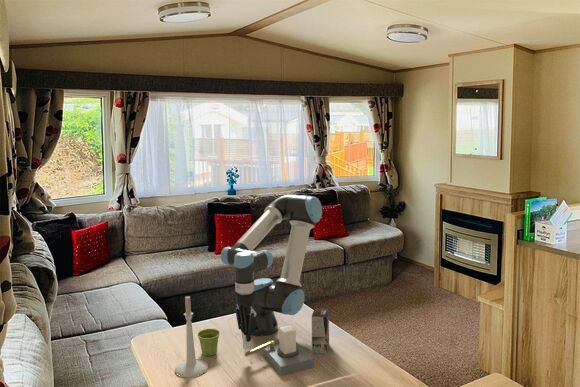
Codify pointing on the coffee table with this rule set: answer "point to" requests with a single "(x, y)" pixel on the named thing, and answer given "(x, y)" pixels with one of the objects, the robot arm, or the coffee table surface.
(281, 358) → the socket
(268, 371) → the coffee table surface
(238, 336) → the coffee table surface
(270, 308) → the robot arm
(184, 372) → the candlestick
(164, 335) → the coffee table surface
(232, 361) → the coffee table surface
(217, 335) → the plant pot
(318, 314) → the coffee box
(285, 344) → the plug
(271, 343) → the tan long thin stick
